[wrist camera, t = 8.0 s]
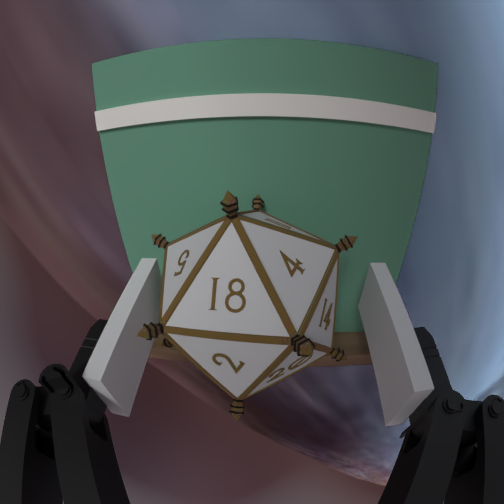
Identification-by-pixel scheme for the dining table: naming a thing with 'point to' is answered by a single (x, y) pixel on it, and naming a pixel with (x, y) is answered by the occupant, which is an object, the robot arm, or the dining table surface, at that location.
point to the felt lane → (270, 144)
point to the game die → (249, 299)
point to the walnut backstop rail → (346, 341)
